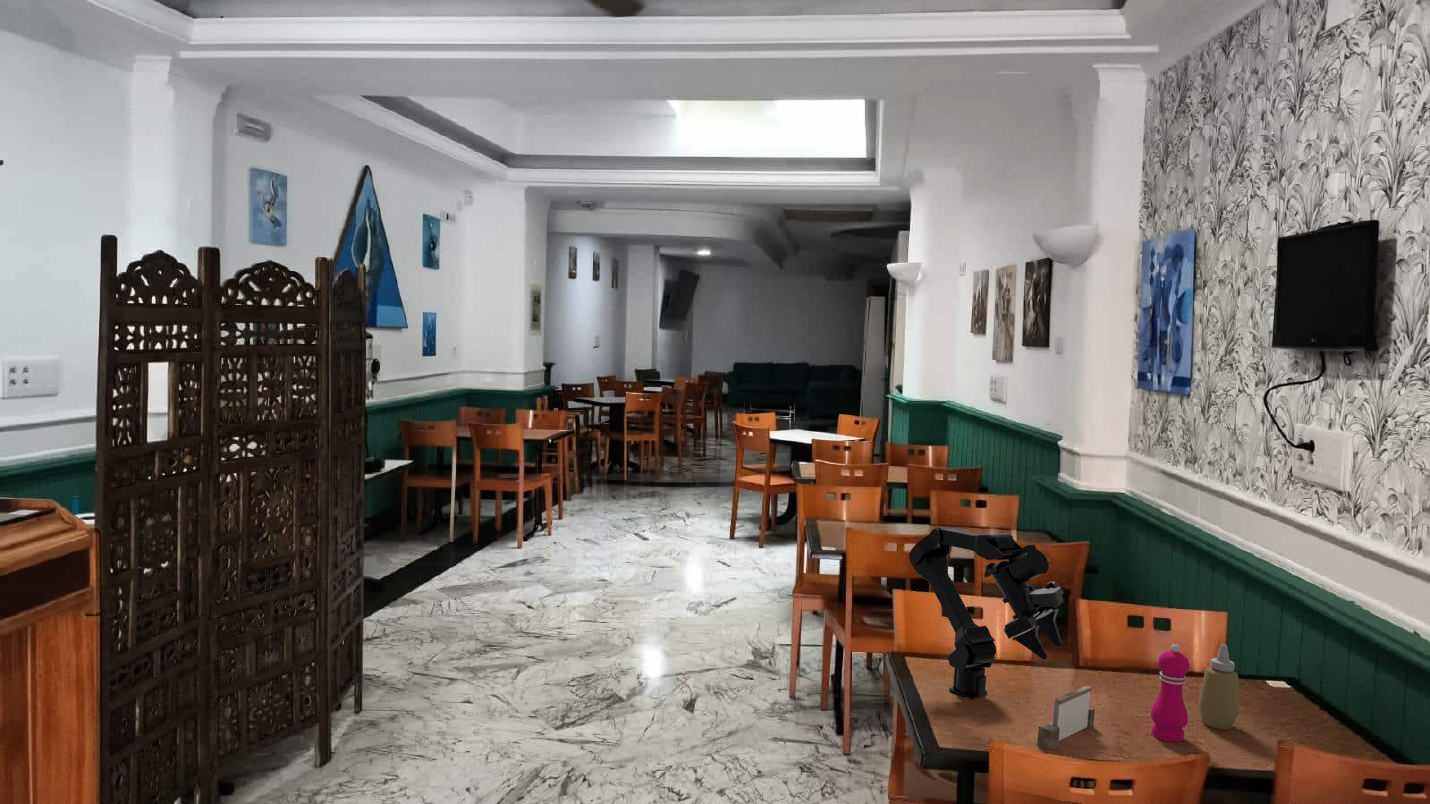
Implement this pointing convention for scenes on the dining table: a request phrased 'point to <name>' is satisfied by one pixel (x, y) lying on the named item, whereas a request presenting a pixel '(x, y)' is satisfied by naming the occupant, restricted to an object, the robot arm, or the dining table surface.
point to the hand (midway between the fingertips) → (1052, 652)
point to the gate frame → (1057, 732)
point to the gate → (1072, 712)
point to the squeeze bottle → (1220, 692)
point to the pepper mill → (1170, 697)
